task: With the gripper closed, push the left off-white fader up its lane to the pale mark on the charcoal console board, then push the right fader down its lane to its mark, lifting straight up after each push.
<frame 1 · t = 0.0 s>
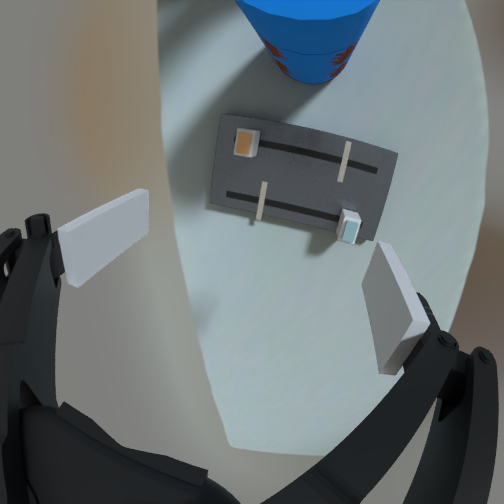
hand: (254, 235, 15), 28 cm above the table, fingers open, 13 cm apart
fader 2: (348, 226, 37), point 4 cm above the table, slide at 16.0 cm
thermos: (310, 52, 31), on the table
fader 1: (246, 142, 35), point 4 cm above the table, slide at 0.0 cm
console: (302, 173, 40), on the table
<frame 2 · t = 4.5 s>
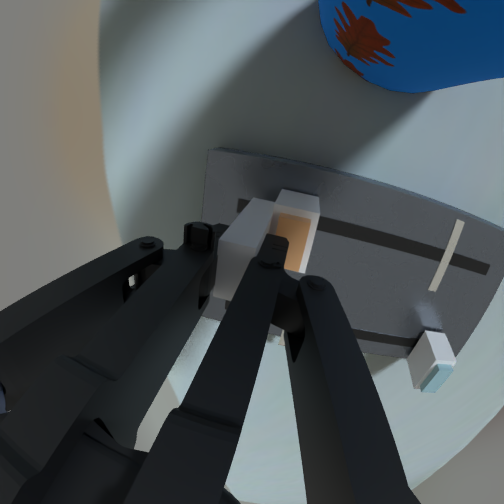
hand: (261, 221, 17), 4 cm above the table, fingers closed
fader 2: (431, 363, 18), point 4 cm above the table, slide at 16.0 cm
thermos: (391, 29, 12), on the table
fader 1: (292, 230, 16), point 4 cm above the table, slide at 1.5 cm, touching gripper
console: (366, 269, 21), on the table
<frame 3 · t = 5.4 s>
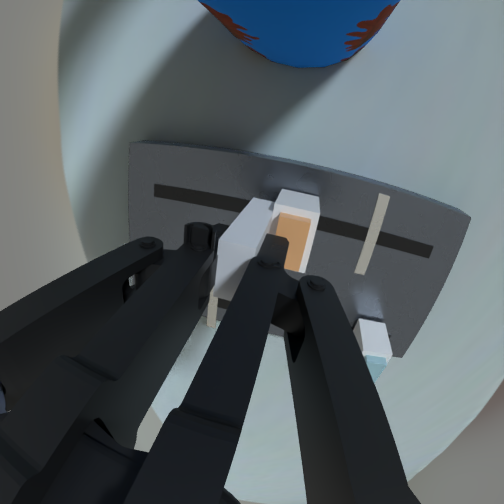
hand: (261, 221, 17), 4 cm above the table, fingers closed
fader 2: (366, 355, 19), point 4 cm above the table, slide at 16.0 cm
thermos: (302, 9, 13), on the table
fader 1: (292, 230, 16), point 4 cm above the table, slide at 8.1 cm, touching gripper
console: (287, 251, 22), on the table
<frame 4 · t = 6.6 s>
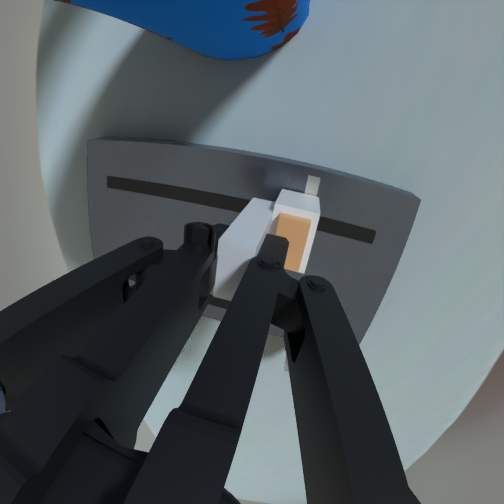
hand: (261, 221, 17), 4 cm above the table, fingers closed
fader 2: (307, 344, 20), point 4 cm above the table, slide at 16.0 cm
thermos: (239, 4, 14), on the table
fader 1: (292, 230, 16), point 4 cm above the table, slide at 12.9 cm, touching gripper
console: (227, 237, 22), on the table
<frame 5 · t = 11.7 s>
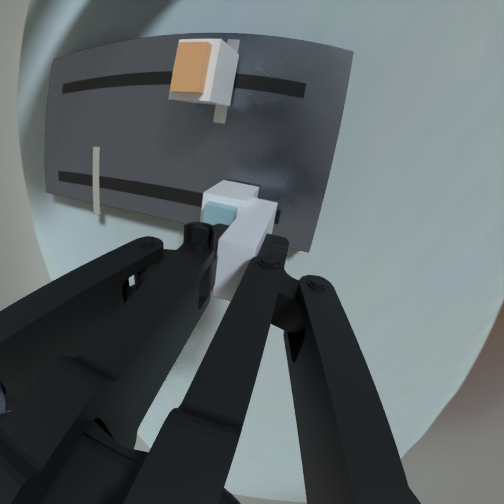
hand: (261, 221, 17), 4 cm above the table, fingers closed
fader 2: (227, 219, 16), point 4 cm above the table, slide at 15.6 cm, touching gripper
fader 1: (203, 72, 13), point 4 cm above the table, slide at 12.9 cm
console: (160, 123, 19), on the table
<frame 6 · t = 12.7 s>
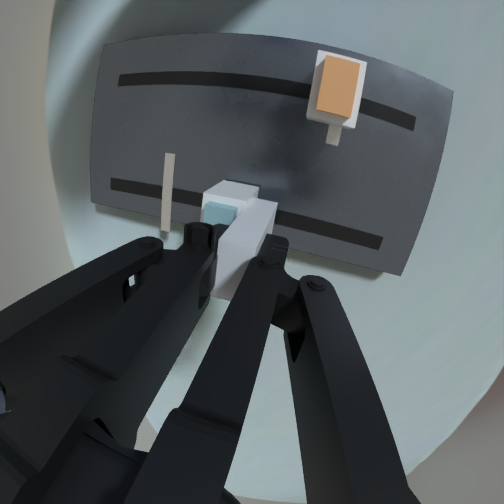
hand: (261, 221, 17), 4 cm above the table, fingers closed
fader 2: (227, 219, 16), point 4 cm above the table, slide at 8.4 cm, touching gripper
fader 1: (334, 91, 12), point 4 cm above the table, slide at 12.9 cm
console: (250, 133, 18), on the table
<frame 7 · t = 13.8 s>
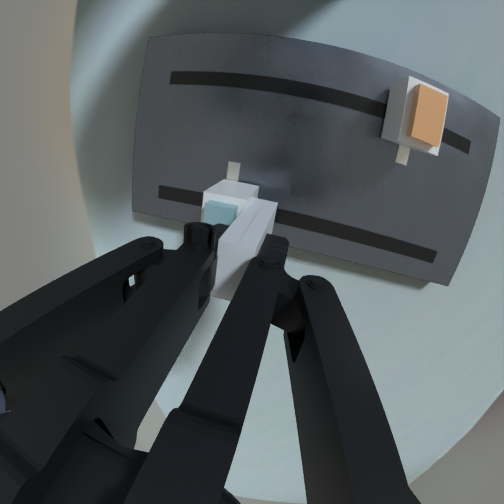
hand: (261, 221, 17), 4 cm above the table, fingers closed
fader 2: (228, 218, 16), point 4 cm above the table, slide at 3.7 cm, touching gripper
fader 1: (415, 116, 11), point 4 cm above the table, slide at 12.9 cm
console: (316, 145, 18), on the table
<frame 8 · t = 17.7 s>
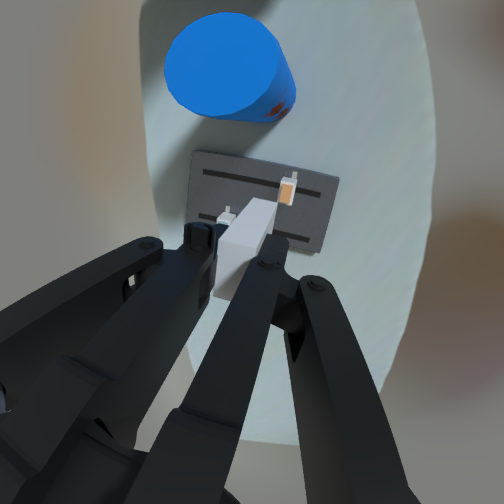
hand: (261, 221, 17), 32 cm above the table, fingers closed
fader 2: (225, 226, 48), point 4 cm above the table, slide at 3.6 cm
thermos: (265, 93, 41), on the table
fader 1: (287, 191, 43), point 4 cm above the table, slide at 12.9 cm
console: (259, 198, 50), on the table
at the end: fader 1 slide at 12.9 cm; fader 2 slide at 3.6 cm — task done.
